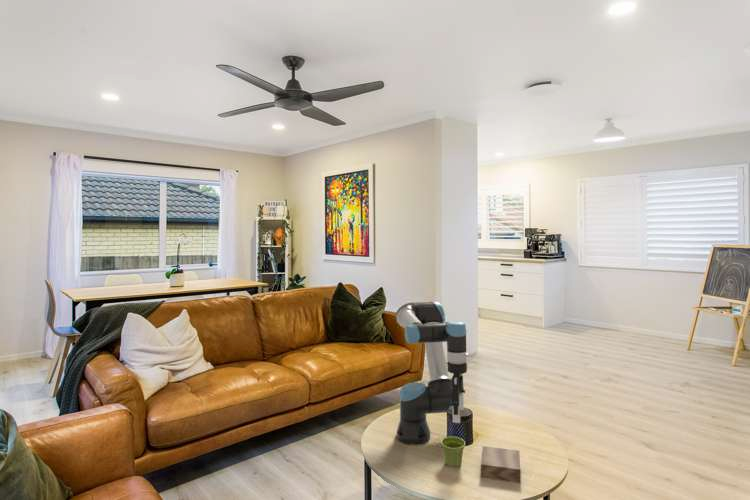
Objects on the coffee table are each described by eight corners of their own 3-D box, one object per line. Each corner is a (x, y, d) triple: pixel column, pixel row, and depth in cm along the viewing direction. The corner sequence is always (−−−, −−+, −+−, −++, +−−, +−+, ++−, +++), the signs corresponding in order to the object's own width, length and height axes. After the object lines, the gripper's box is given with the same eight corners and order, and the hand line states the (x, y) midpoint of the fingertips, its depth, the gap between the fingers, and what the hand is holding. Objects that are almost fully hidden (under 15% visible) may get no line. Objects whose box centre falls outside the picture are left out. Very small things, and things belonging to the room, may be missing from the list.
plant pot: (465, 471, 163) (465, 448, 163) (440, 468, 165) (440, 447, 164) (465, 458, 172) (465, 437, 172) (442, 456, 174) (441, 435, 174)
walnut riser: (480, 477, 158) (480, 464, 158) (482, 458, 172) (482, 446, 172) (520, 483, 154) (520, 469, 154) (519, 463, 168) (519, 450, 167)
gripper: (463, 371, 154) (465, 429, 154) (469, 354, 178) (470, 405, 178) (442, 369, 156) (444, 427, 156) (451, 353, 180) (452, 403, 180)
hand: (458, 415), depth 167 cm, fingers open, 13 cm apart
